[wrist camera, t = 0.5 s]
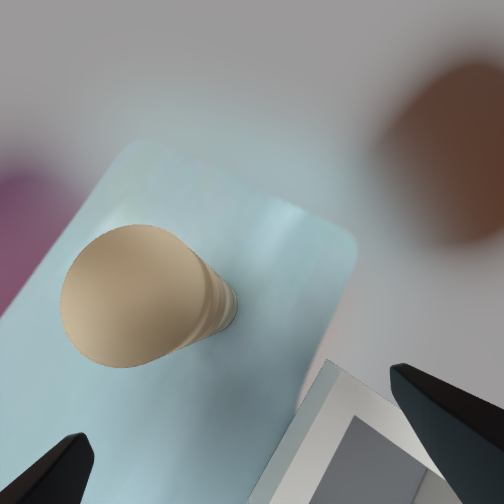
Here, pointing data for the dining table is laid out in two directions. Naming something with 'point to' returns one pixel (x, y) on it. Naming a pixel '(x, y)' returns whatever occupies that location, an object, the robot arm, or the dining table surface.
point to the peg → (141, 297)
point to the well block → (350, 452)
